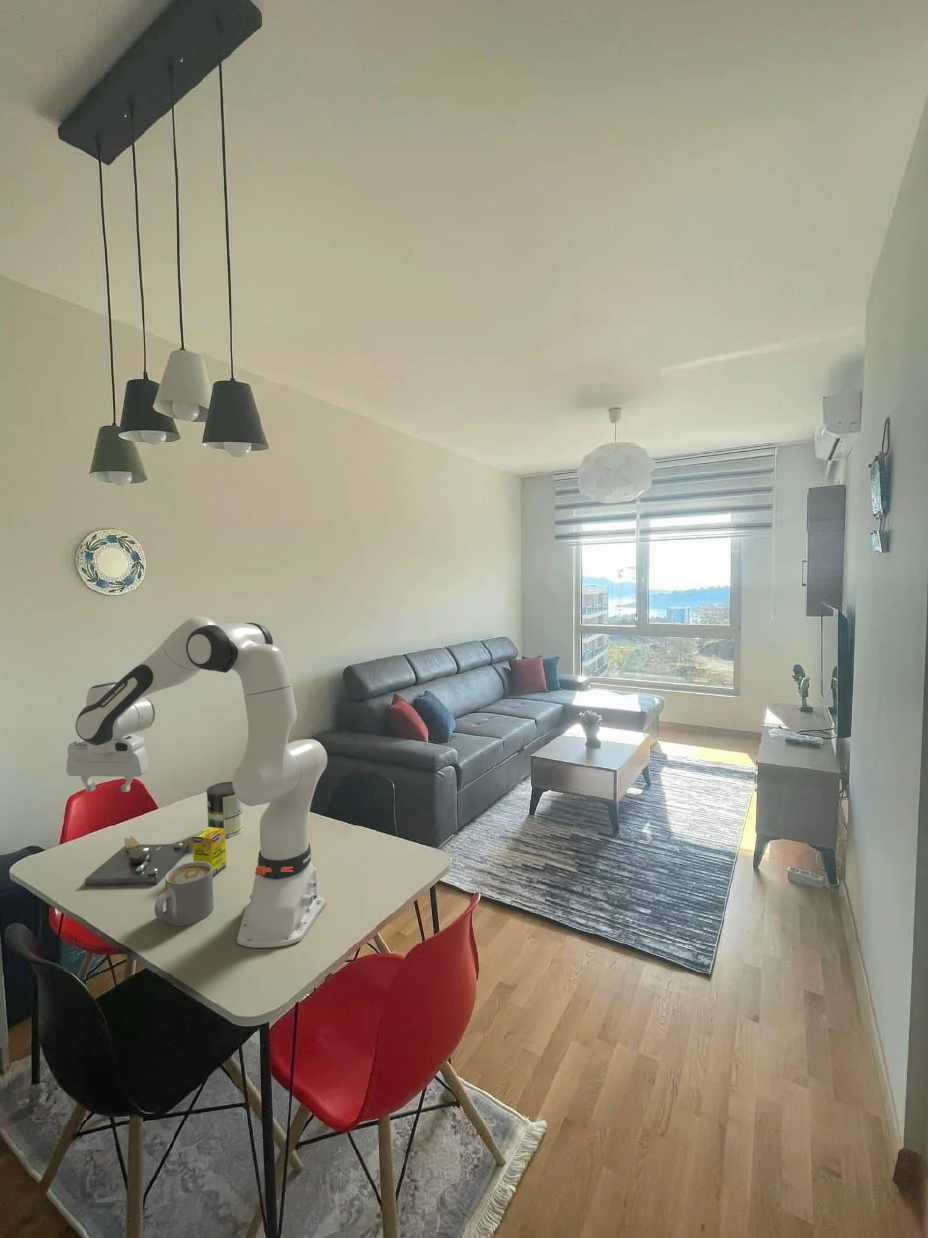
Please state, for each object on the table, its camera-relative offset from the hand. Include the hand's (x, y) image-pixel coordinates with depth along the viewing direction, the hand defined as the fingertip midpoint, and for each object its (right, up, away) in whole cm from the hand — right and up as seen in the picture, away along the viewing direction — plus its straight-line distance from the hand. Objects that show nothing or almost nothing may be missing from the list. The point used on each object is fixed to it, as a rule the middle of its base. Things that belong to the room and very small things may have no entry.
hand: (108, 791), depth 148 cm
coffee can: (+23, -20, +22) cm, 37 cm away
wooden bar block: (+6, -19, +3) cm, 20 cm away
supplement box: (+29, -22, -2) cm, 36 cm away
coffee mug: (+32, -23, -21) cm, 45 cm away
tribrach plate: (+9, -21, 0) cm, 23 cm away
